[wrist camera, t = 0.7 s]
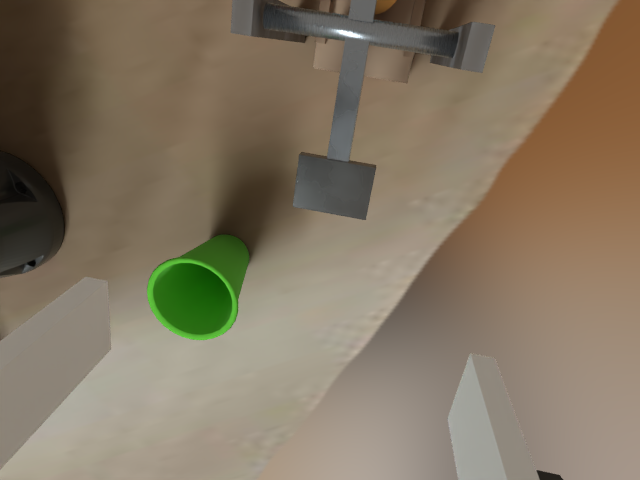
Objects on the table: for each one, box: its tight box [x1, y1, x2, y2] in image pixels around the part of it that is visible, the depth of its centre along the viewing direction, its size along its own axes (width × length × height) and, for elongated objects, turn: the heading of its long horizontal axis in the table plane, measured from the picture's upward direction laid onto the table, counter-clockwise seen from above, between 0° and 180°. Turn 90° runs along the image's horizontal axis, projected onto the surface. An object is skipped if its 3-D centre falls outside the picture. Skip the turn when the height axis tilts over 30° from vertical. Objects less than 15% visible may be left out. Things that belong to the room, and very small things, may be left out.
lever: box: [263, 0, 459, 220], centre depth 31 cm, size 11×19×12 cm, turn 172°
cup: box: [147, 235, 249, 340], centre depth 47 cm, size 9×9×11 cm
